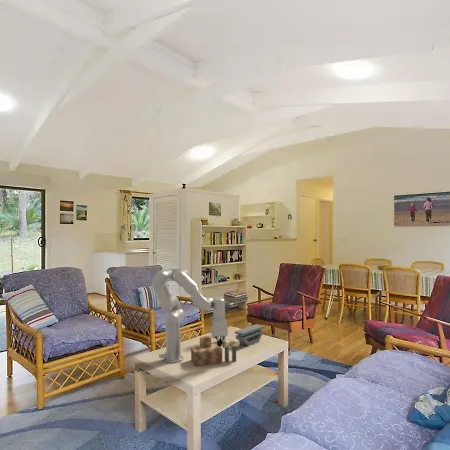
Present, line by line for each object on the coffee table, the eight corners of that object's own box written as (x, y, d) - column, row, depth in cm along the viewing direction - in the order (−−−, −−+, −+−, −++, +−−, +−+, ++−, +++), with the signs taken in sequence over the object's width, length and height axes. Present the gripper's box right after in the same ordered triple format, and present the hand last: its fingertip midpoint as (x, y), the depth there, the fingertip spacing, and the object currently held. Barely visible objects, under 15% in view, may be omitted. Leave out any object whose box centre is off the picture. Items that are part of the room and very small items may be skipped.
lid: (194, 355, 213) (194, 342, 213) (191, 349, 225) (190, 336, 225) (222, 352, 219) (222, 339, 219) (217, 346, 230) (217, 334, 230)
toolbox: (195, 366, 213) (194, 351, 213) (191, 360, 224) (191, 345, 225) (236, 361, 221) (236, 346, 221) (230, 355, 233) (230, 340, 233)
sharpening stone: (255, 338, 269) (255, 324, 269) (263, 340, 264) (263, 326, 264) (234, 346, 251) (234, 331, 251) (243, 348, 245) (242, 333, 246)
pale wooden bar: (223, 348, 219) (223, 341, 219) (222, 346, 222) (222, 340, 222) (239, 346, 222) (239, 340, 222) (238, 344, 225) (237, 338, 225)
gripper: (209, 320, 214) (209, 349, 214) (231, 317, 219) (232, 346, 218) (206, 317, 221) (207, 345, 221) (228, 315, 226) (228, 343, 225)
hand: (219, 346), depth 220 cm, fingers closed
